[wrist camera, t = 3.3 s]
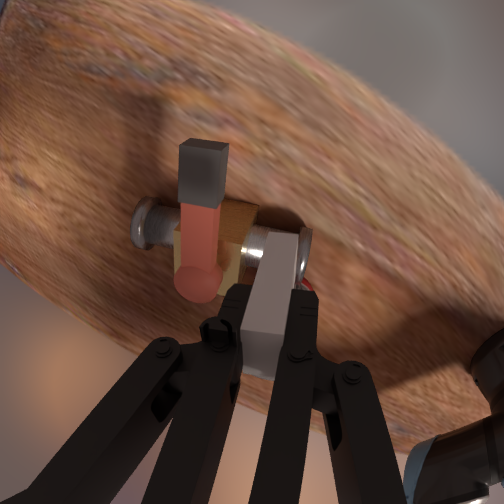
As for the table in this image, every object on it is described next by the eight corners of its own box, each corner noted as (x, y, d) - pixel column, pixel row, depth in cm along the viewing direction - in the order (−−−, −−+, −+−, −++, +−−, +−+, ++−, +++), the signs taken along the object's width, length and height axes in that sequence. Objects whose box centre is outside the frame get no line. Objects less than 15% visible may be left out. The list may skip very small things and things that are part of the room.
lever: (221, 293, 30) (215, 307, 28) (182, 283, 30) (174, 297, 29) (236, 144, 22) (228, 152, 20) (183, 137, 22) (172, 144, 20)
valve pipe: (313, 217, 34) (310, 264, 26) (301, 264, 37) (294, 316, 30) (154, 186, 35) (114, 221, 28) (155, 232, 39) (121, 273, 32)
